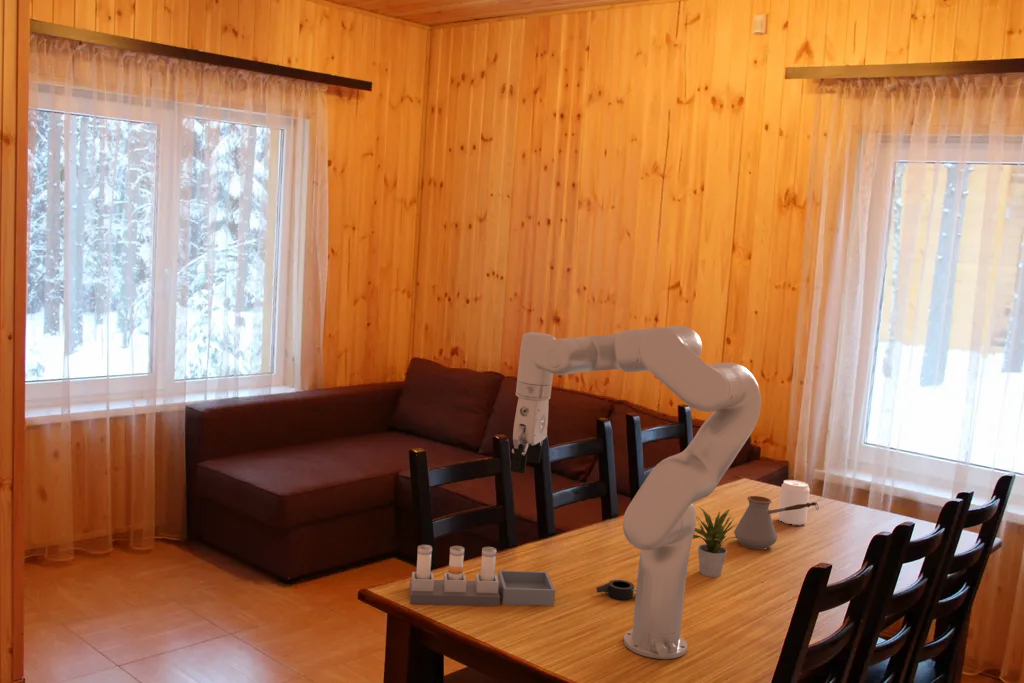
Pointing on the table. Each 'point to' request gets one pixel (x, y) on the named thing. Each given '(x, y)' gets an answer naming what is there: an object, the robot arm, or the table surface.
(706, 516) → the house plant
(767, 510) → the coffee pot
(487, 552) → the fuse right
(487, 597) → the block
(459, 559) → the marked fuse
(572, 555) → the table surface
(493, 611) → the table surface
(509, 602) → the tray
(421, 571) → the fuse left
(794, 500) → the beverage can
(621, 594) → the black ring with handle
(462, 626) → the table surface
